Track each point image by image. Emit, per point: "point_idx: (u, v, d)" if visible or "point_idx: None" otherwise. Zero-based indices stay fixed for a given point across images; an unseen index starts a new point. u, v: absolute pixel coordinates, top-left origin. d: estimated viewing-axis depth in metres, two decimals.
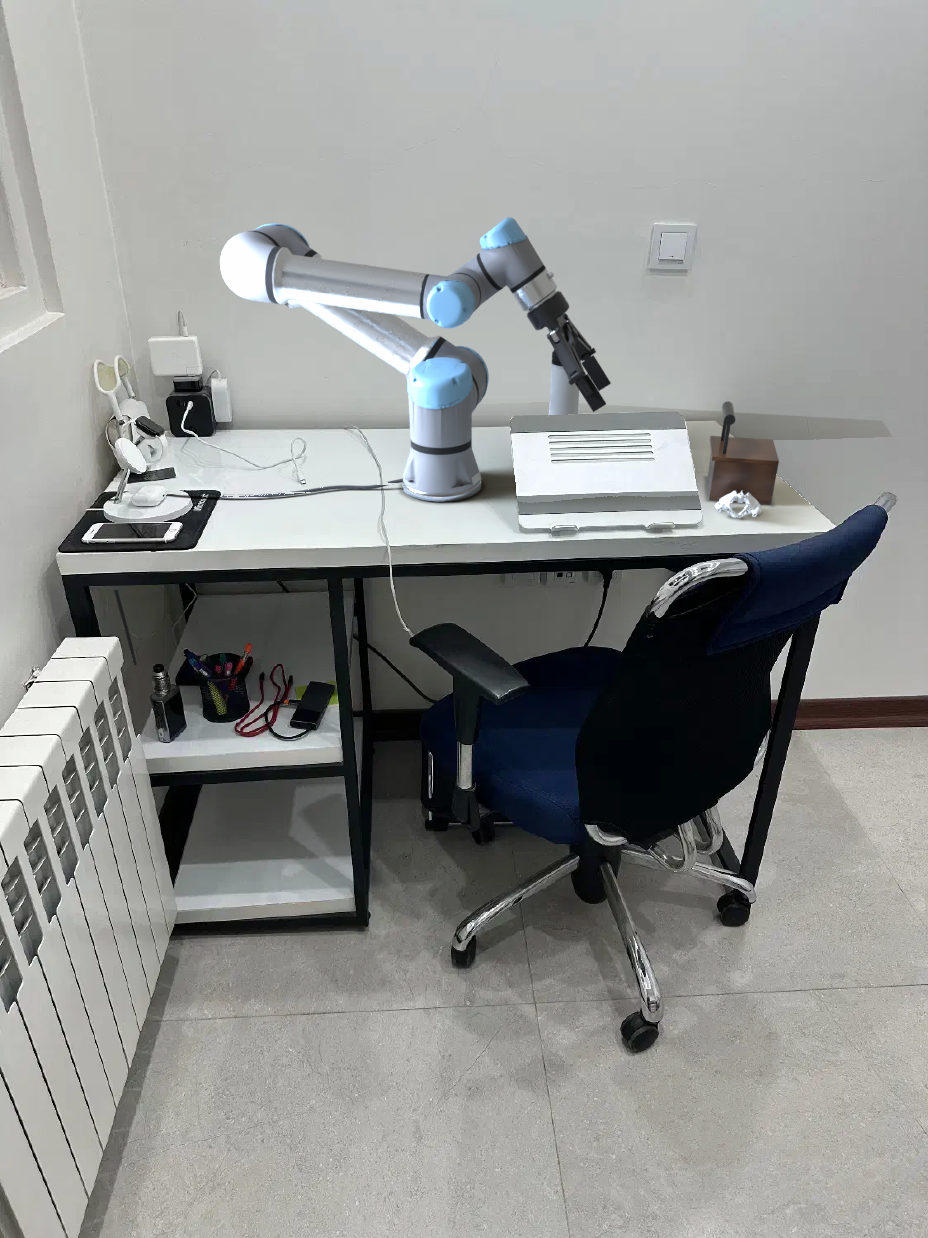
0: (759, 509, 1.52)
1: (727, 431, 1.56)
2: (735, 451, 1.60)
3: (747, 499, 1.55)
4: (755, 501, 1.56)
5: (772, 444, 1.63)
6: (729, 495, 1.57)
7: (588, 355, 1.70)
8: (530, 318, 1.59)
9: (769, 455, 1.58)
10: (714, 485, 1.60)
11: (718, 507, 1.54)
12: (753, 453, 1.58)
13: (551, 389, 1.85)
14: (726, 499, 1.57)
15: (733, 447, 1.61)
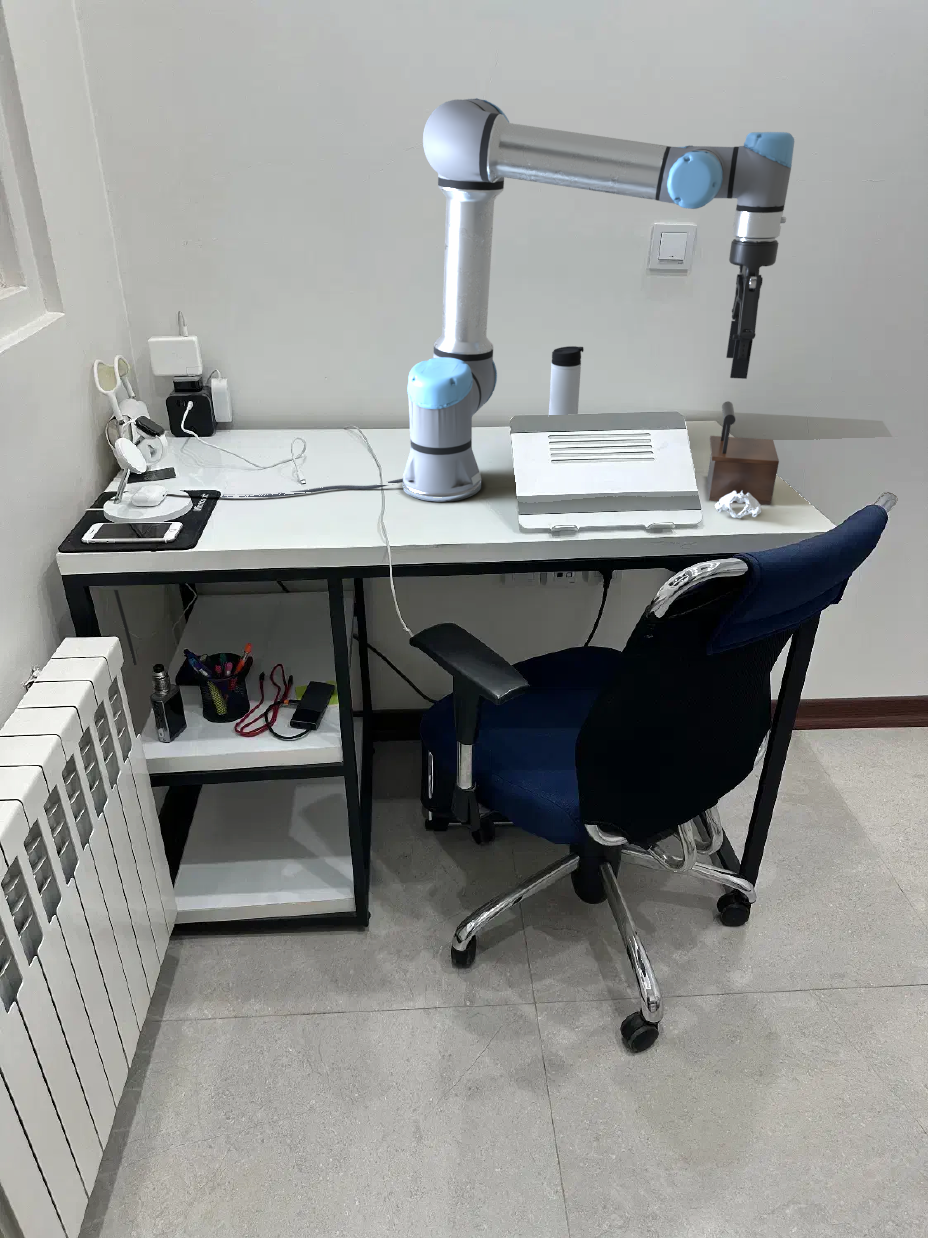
0: (759, 509, 1.52)
1: (727, 431, 1.56)
2: (735, 451, 1.60)
3: (747, 499, 1.55)
4: (755, 501, 1.56)
5: (772, 444, 1.63)
6: (729, 495, 1.57)
7: None
8: (736, 247, 1.42)
9: (769, 455, 1.58)
10: (714, 485, 1.60)
11: (718, 507, 1.54)
12: (753, 453, 1.58)
13: (551, 389, 1.85)
14: (726, 499, 1.57)
15: (733, 447, 1.61)
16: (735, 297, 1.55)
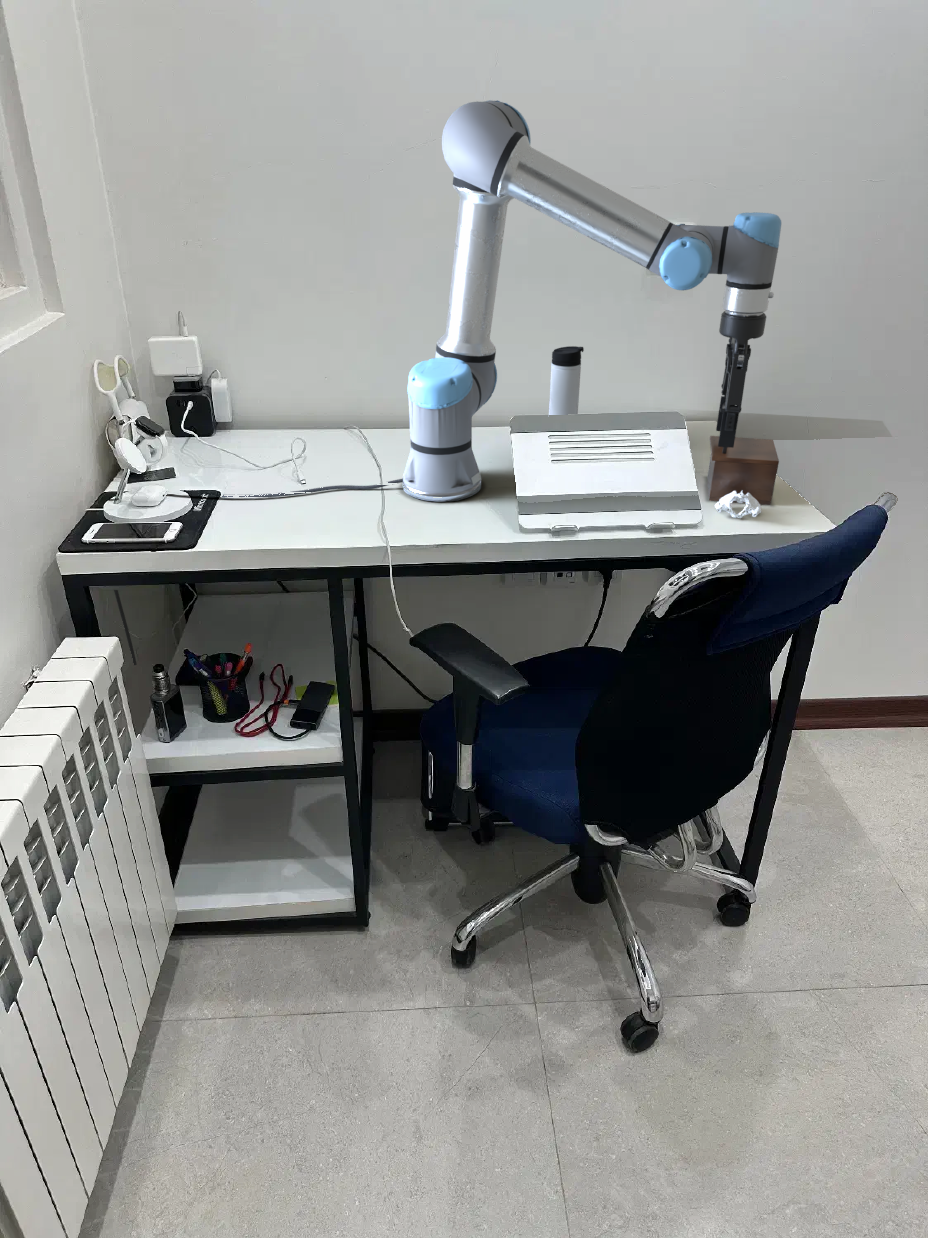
0: (759, 509, 1.52)
1: None
2: (735, 451, 1.60)
3: (747, 499, 1.55)
4: (755, 501, 1.56)
5: (772, 444, 1.63)
6: (729, 495, 1.57)
7: None
8: (726, 320, 1.48)
9: (769, 455, 1.58)
10: (714, 485, 1.60)
11: (718, 507, 1.54)
12: (753, 453, 1.58)
13: (551, 389, 1.85)
14: (726, 499, 1.57)
15: (733, 447, 1.61)
16: (725, 370, 1.61)
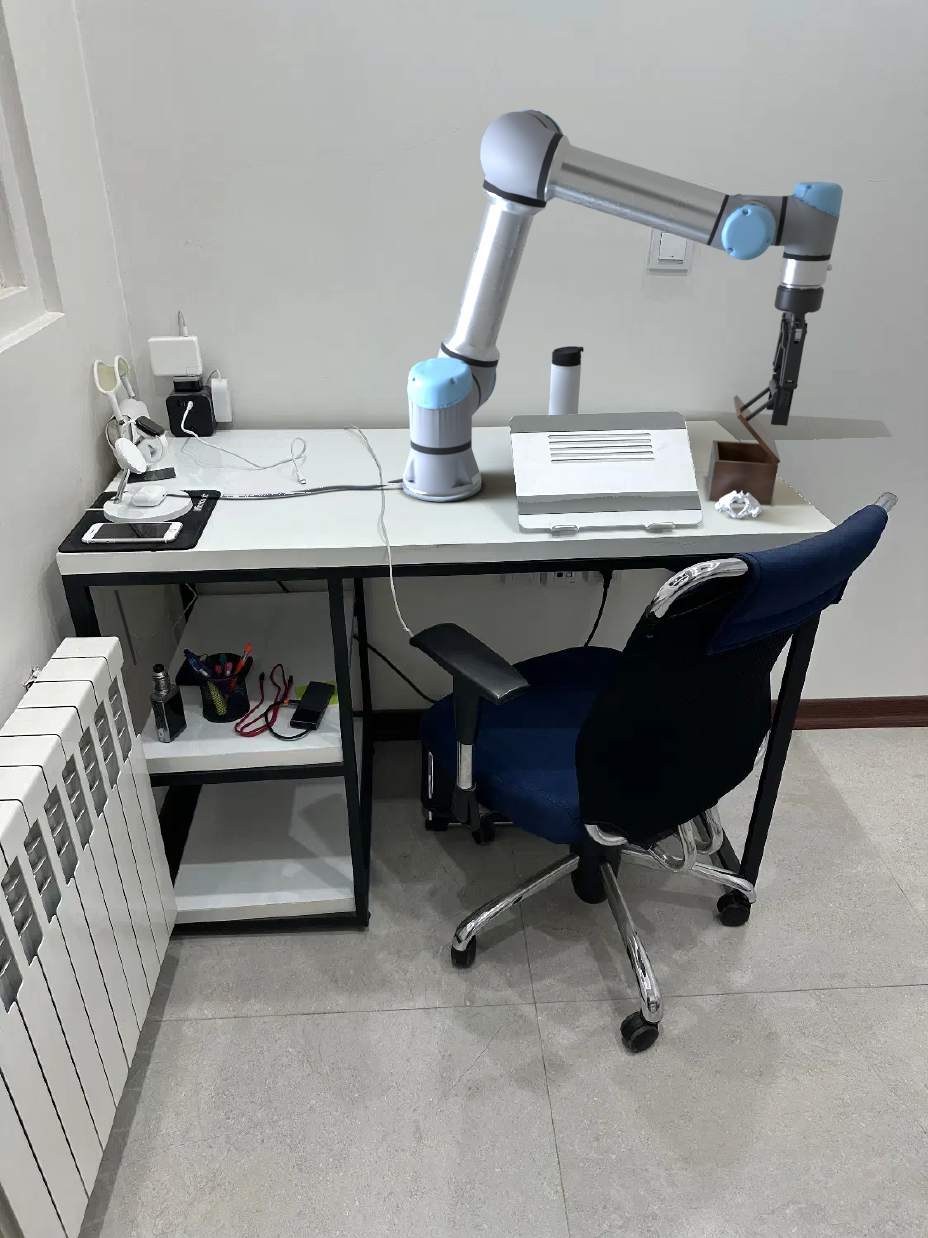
0: (759, 509, 1.52)
1: (767, 404, 1.53)
2: (754, 425, 1.56)
3: (747, 499, 1.55)
4: (755, 501, 1.56)
5: (774, 443, 1.62)
6: (729, 495, 1.57)
7: None
8: (782, 294, 1.44)
9: (774, 451, 1.57)
10: (714, 485, 1.60)
11: (718, 507, 1.54)
12: (764, 439, 1.57)
13: (551, 389, 1.85)
14: (726, 499, 1.57)
15: (752, 420, 1.58)
16: (777, 347, 1.57)
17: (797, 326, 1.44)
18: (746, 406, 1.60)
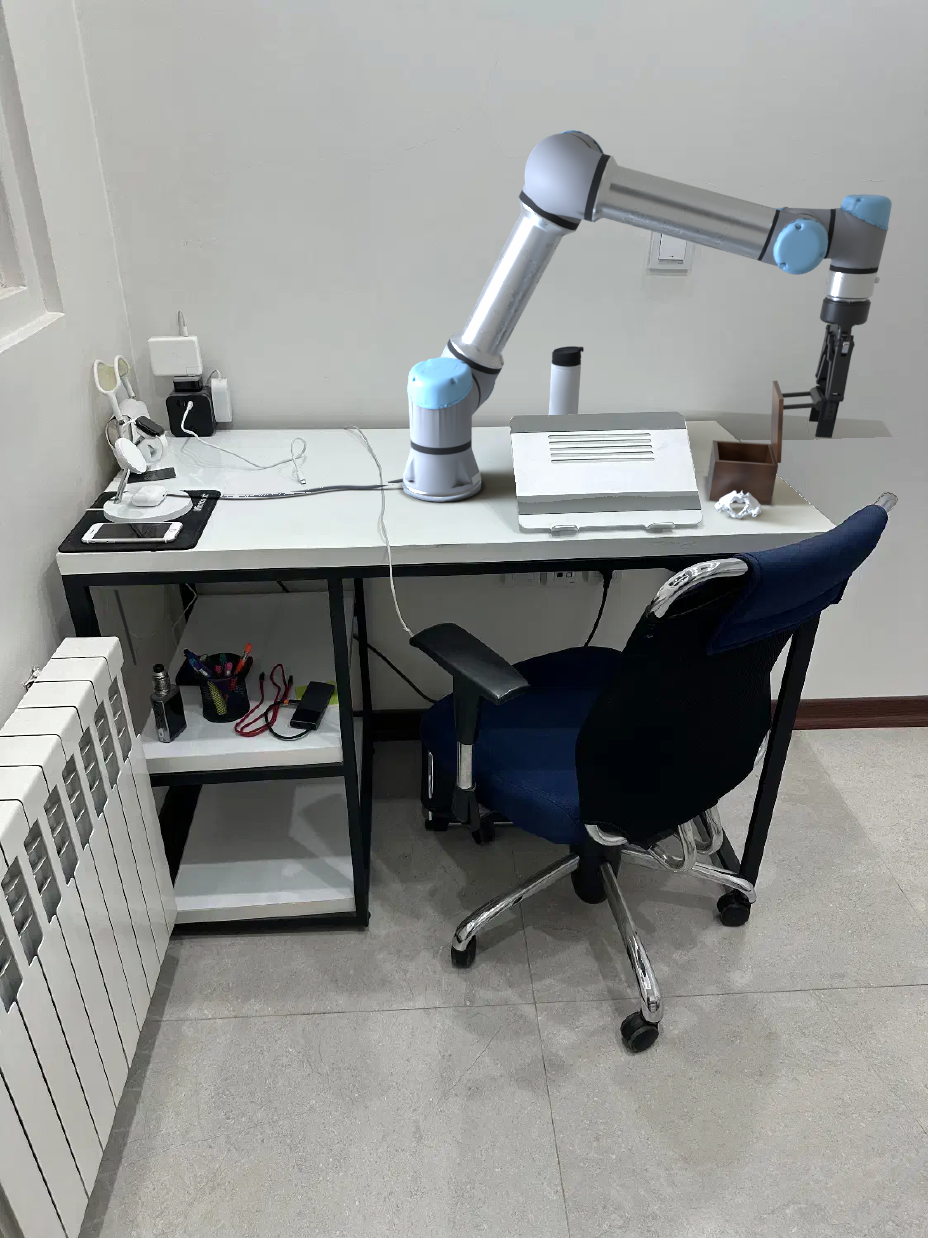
0: (759, 509, 1.52)
1: (807, 405, 1.51)
2: None
3: (747, 499, 1.55)
4: (755, 501, 1.56)
5: None
6: (729, 495, 1.57)
7: (827, 382, 1.57)
8: (829, 306, 1.44)
9: None
10: (714, 485, 1.60)
11: (718, 507, 1.54)
12: None
13: (551, 389, 1.85)
14: (726, 499, 1.57)
15: None
16: (820, 359, 1.56)
17: (844, 339, 1.43)
18: None
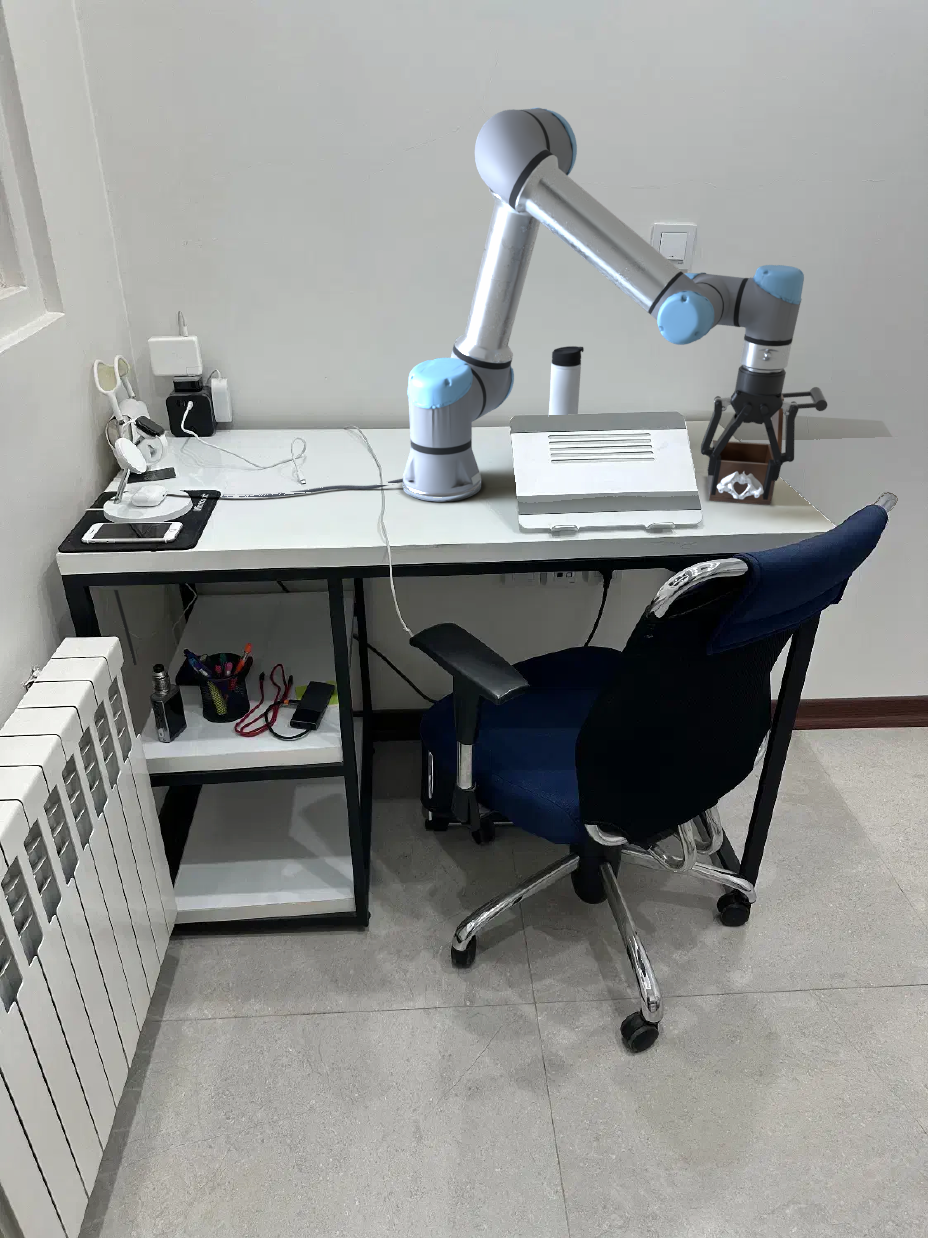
0: (761, 490, 1.50)
1: (807, 405, 1.51)
2: None
3: (749, 480, 1.53)
4: (757, 482, 1.55)
5: None
6: (731, 476, 1.56)
7: (774, 459, 1.49)
8: None
9: None
10: None
11: (720, 488, 1.52)
12: None
13: (551, 389, 1.85)
14: (728, 480, 1.56)
15: None
16: (785, 436, 1.49)
17: (725, 398, 1.46)
18: None
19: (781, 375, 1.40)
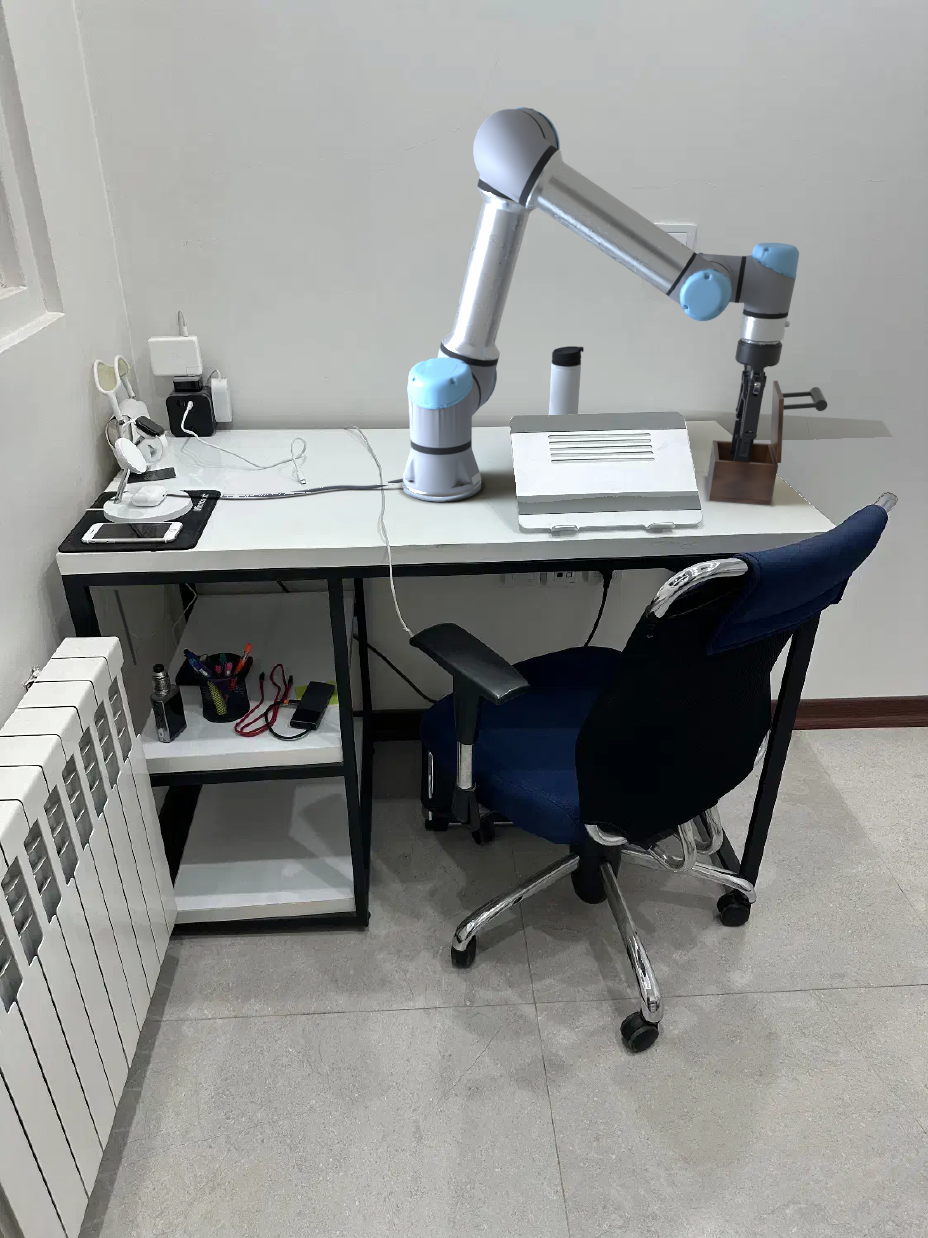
0: None
1: (807, 405, 1.51)
2: None
3: None
4: None
5: None
6: None
7: None
8: (742, 348, 1.50)
9: None
10: (714, 485, 1.60)
11: None
12: None
13: (551, 389, 1.85)
14: None
15: None
16: (739, 395, 1.62)
17: (756, 379, 1.50)
18: None
19: None
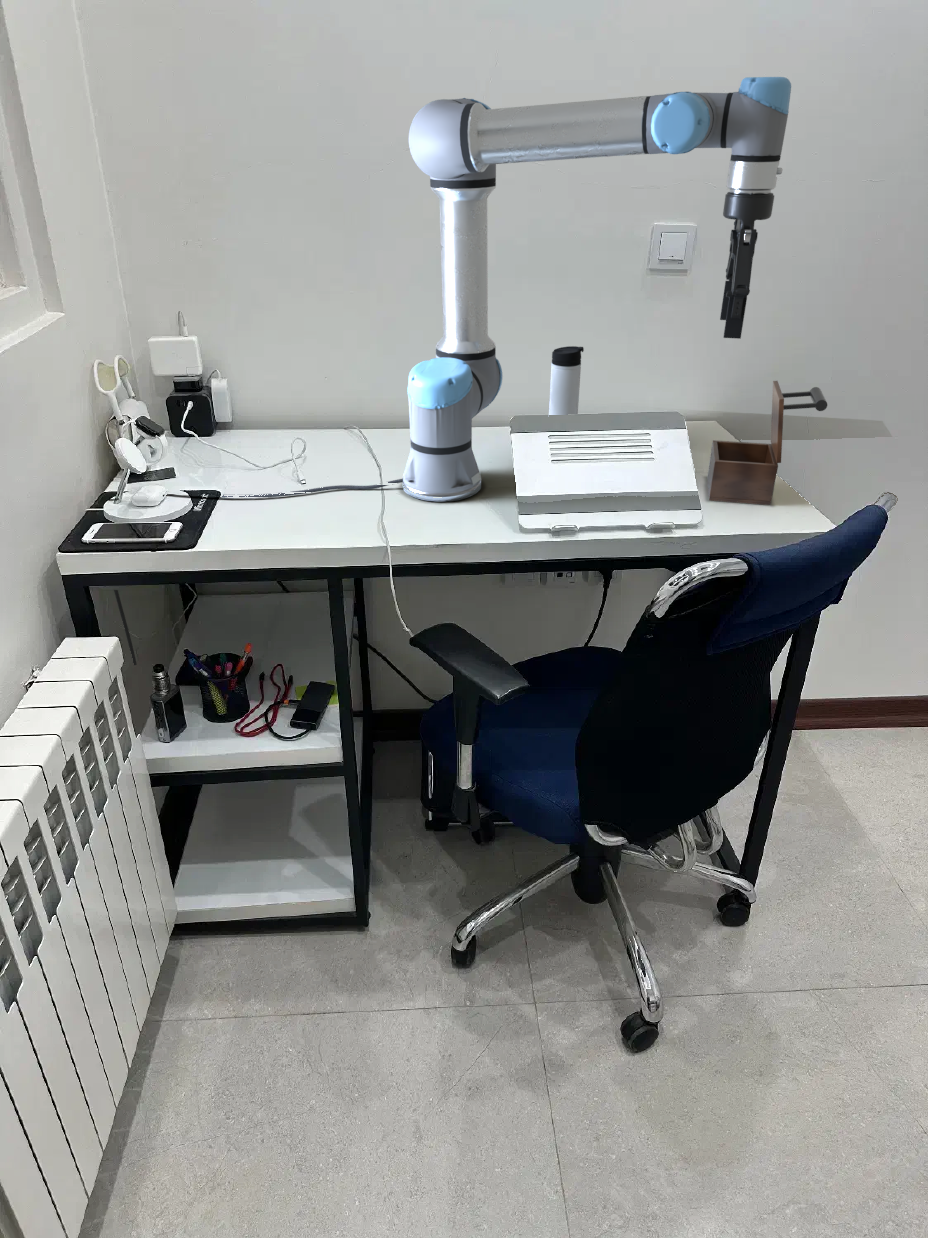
0: None
1: (807, 405, 1.51)
2: None
3: None
4: None
5: None
6: None
7: None
8: (730, 200, 1.36)
9: None
10: (714, 485, 1.60)
11: None
12: None
13: (551, 389, 1.85)
14: None
15: None
16: (729, 256, 1.49)
17: None
18: None
19: None
